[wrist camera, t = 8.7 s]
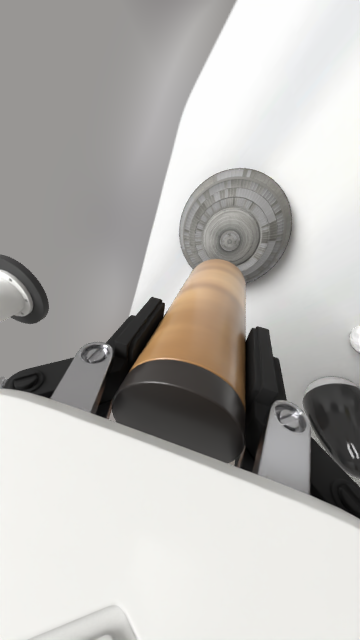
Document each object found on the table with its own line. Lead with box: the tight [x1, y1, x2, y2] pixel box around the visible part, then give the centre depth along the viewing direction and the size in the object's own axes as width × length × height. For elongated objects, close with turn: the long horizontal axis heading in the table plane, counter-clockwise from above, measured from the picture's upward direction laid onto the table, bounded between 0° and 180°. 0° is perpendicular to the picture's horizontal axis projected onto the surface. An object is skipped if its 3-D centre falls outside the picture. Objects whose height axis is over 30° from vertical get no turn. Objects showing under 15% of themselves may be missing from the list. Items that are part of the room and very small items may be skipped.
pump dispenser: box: [303, 377, 360, 479], centre depth 33 cm, size 10×10×15 cm
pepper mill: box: [112, 259, 246, 463], centre depth 12 cm, size 5×5×12 cm
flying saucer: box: [179, 168, 292, 283], centre depth 28 cm, size 15×15×6 cm
